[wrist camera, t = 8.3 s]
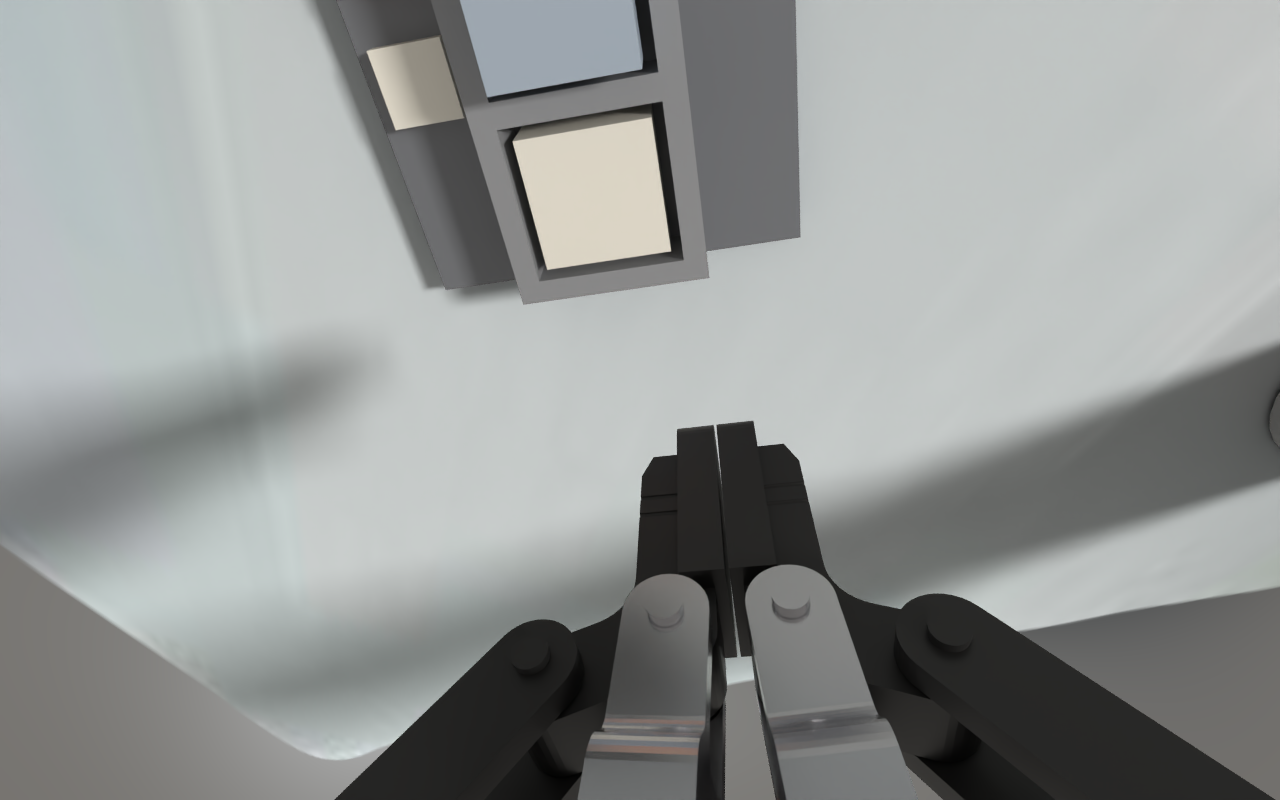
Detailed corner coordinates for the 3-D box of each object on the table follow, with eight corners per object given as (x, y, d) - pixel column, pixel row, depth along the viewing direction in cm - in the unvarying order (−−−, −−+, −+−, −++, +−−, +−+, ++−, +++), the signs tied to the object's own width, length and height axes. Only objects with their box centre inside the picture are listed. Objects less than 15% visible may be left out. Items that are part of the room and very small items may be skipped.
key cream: (651, 102, 21) (651, 117, 20) (669, 229, 24) (670, 251, 22) (522, 125, 22) (512, 141, 20) (554, 247, 24) (547, 269, 23)
